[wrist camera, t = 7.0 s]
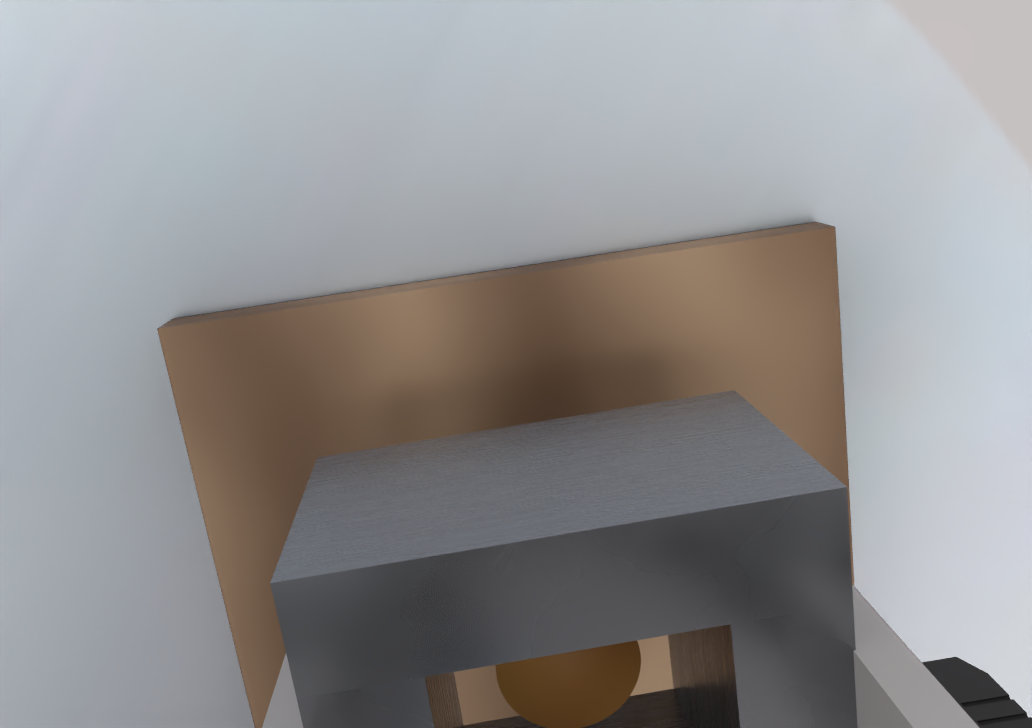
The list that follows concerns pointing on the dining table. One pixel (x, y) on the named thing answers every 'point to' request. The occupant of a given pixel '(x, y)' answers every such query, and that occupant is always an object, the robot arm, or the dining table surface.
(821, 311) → the brown rectangular base plate
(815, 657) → the hollow square frame
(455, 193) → the dining table surface
